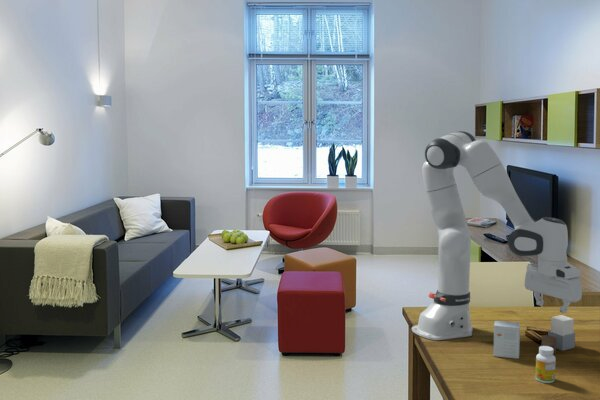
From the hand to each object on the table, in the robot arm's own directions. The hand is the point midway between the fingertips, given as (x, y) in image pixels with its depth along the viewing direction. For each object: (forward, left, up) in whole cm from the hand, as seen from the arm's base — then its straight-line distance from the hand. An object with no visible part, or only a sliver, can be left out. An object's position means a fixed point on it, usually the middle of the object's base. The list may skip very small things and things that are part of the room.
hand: (551, 308), depth 208 cm
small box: (-14, +5, -15) cm, 21 cm away
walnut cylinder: (0, 0, -15) cm, 15 cm away
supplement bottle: (-19, -15, -15) cm, 28 cm away
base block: (+8, +2, -15) cm, 17 cm away
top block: (+8, +2, -10) cm, 13 cm away
